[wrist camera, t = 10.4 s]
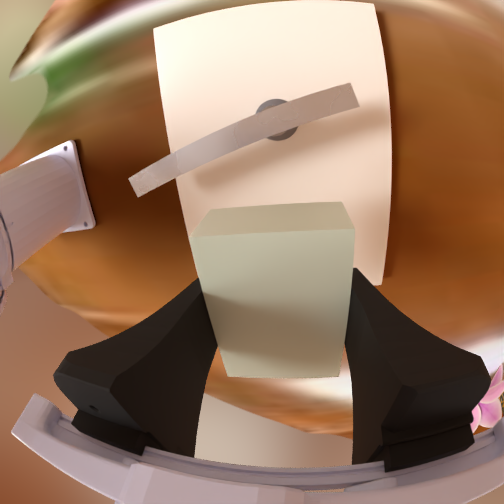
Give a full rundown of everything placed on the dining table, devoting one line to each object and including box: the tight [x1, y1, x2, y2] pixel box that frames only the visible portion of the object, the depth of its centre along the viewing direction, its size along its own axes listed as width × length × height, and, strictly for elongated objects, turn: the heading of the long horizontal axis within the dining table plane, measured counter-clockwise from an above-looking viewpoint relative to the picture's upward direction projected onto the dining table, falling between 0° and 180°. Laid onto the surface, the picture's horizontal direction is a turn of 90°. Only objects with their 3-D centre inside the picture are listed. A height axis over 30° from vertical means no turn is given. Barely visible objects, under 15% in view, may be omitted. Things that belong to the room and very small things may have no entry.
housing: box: [154, 0, 392, 285], centre depth 16 cm, size 14×20×1 cm
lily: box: [470, 364, 504, 433], centre depth 23 cm, size 12×12×10 cm
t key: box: [128, 83, 360, 197], centre depth 13 cm, size 2×12×4 cm, turn 114°
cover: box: [189, 201, 355, 378], centre depth 11 cm, size 5×7×2 cm
